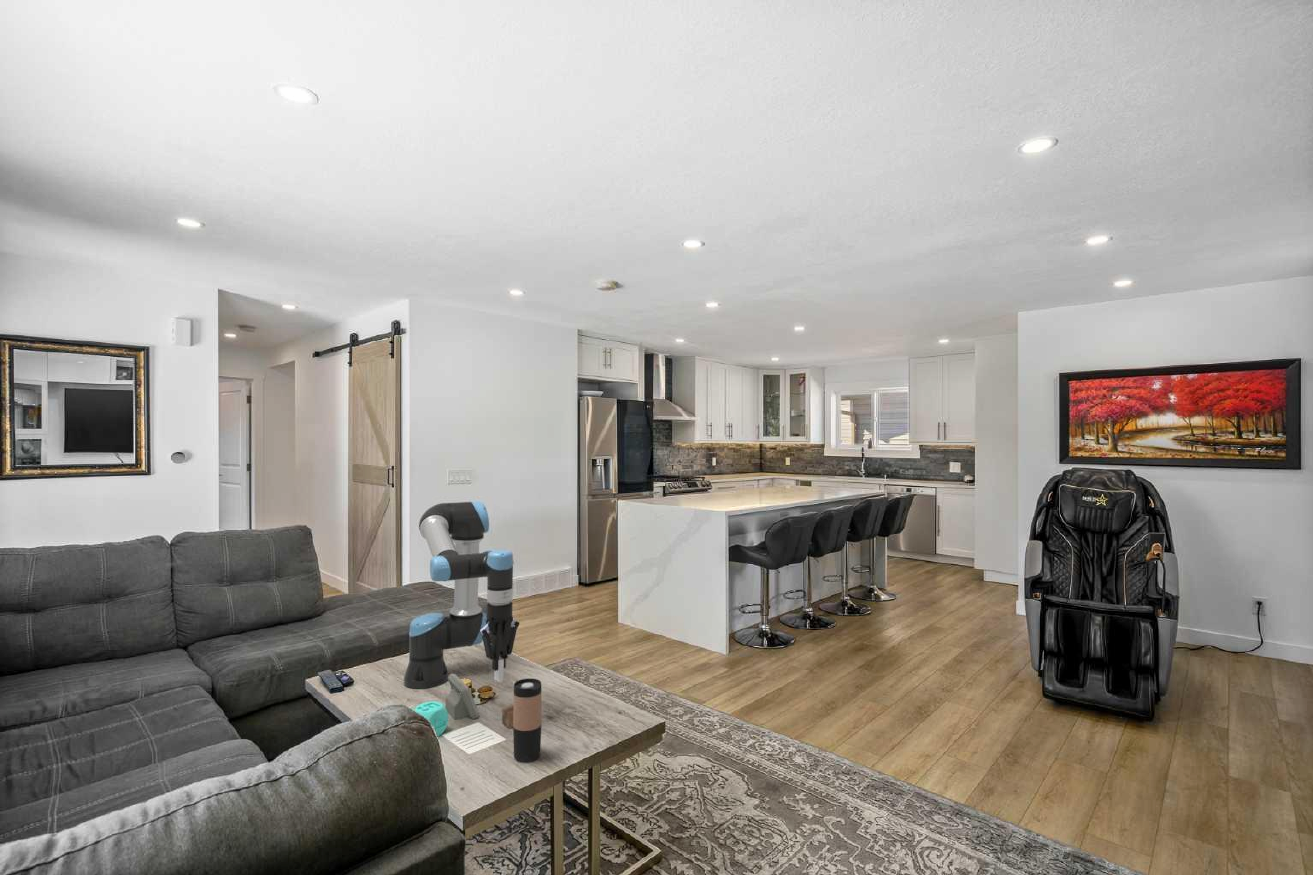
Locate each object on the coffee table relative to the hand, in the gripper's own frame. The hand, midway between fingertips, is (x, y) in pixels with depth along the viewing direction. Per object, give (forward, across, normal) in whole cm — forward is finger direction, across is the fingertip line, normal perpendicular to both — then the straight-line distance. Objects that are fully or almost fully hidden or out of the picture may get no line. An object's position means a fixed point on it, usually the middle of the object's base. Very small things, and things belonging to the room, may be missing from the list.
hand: (498, 679), depth 187 cm
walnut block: (+15, +4, -1) cm, 15 cm away
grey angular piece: (+15, -2, +18) cm, 24 cm away
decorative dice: (+15, -16, +12) cm, 25 cm away
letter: (+15, -8, 0) cm, 17 cm away
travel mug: (+15, -4, -20) cm, 25 cm away
